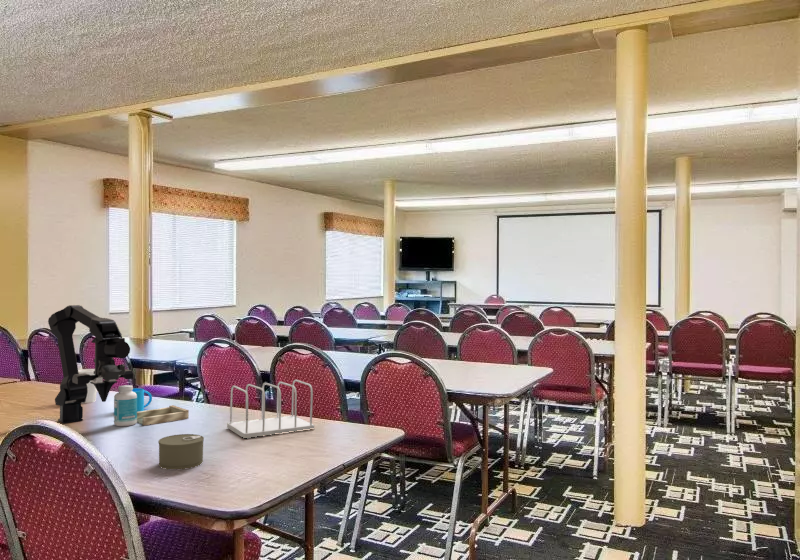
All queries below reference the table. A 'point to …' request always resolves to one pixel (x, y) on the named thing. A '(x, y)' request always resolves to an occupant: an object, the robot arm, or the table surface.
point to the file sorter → (270, 424)
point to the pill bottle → (125, 406)
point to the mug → (141, 398)
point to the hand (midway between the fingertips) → (103, 401)
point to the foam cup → (89, 386)
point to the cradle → (162, 415)
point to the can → (180, 451)
